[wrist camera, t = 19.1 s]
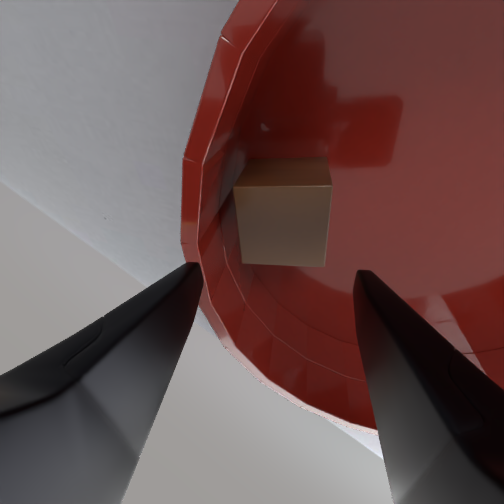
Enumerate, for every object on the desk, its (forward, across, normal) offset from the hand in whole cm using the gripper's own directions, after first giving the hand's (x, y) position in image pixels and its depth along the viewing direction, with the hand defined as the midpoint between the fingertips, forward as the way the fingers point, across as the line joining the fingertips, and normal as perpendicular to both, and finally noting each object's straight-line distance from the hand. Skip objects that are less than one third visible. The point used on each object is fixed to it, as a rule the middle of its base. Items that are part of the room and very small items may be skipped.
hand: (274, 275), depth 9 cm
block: (+7, 0, 0) cm, 7 cm away
